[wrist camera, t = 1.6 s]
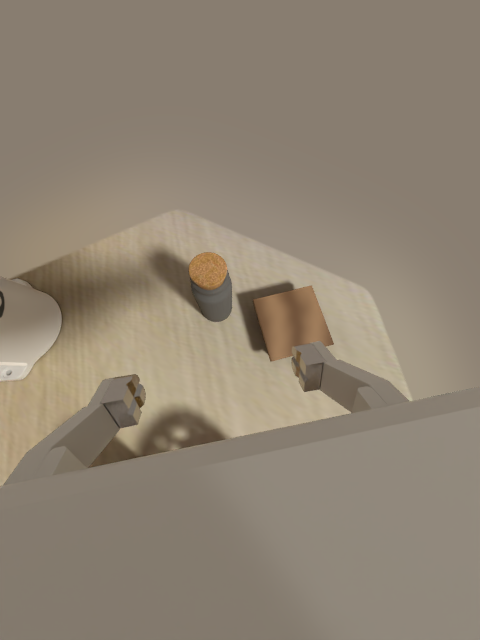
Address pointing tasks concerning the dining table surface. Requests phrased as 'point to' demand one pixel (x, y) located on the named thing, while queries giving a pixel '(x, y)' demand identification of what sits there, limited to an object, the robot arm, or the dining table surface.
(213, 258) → the bottle
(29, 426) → the dining table surface
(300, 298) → the small wooden stand
